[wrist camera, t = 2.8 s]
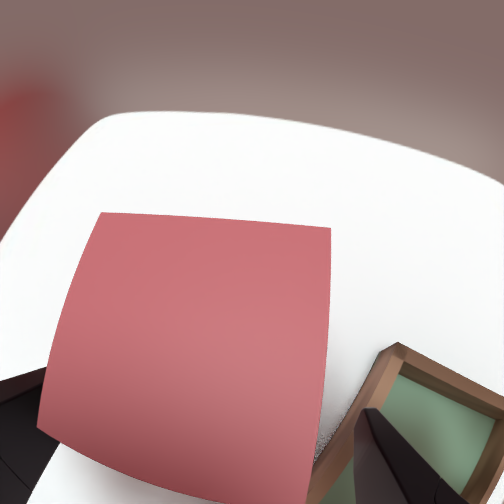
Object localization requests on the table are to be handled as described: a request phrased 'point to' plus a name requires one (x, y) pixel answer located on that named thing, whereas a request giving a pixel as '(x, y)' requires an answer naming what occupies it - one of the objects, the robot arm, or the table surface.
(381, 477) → the robot arm
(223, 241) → the post
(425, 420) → the box
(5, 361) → the table surface
